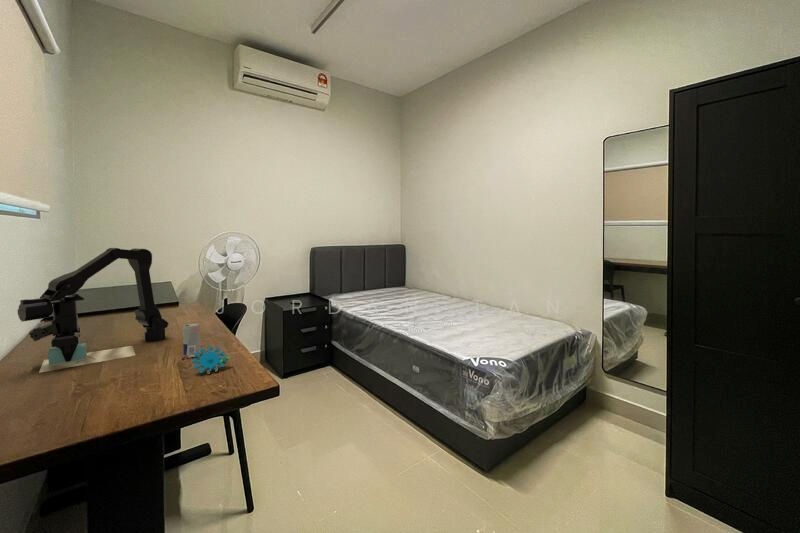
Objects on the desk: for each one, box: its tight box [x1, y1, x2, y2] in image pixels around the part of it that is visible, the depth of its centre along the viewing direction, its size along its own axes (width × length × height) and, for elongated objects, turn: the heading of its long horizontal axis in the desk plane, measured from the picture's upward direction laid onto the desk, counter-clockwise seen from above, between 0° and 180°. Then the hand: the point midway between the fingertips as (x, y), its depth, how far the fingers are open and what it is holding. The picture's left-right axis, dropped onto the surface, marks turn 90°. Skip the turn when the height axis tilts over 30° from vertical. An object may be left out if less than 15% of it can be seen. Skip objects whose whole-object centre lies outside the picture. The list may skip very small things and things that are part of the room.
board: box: [38, 345, 136, 373], centre depth 118 cm, size 24×14×1 cm, turn 133°
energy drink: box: [182, 322, 201, 359], centre depth 124 cm, size 5×5×12 cm
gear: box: [191, 345, 231, 374], centre depth 112 cm, size 11×6×10 cm
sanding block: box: [47, 342, 88, 367], centre depth 114 cm, size 9×5×5 cm, turn 133°
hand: (68, 359), depth 114 cm, fingers closed on sanding block, 5 cm apart
